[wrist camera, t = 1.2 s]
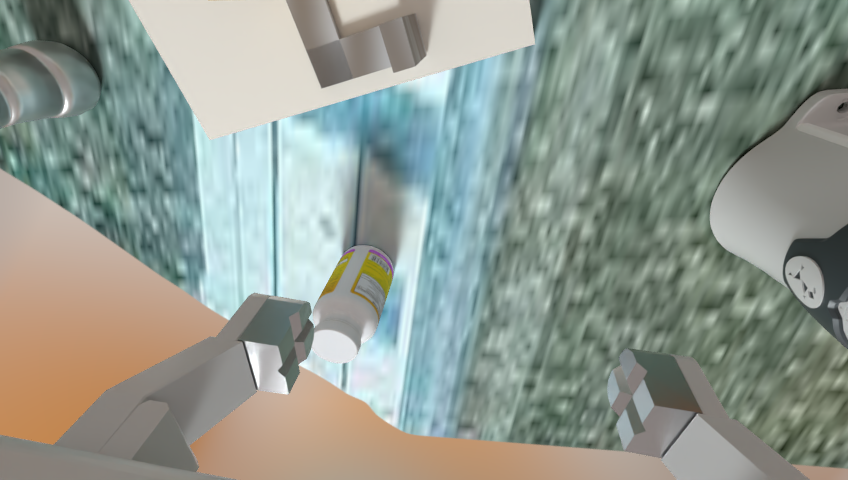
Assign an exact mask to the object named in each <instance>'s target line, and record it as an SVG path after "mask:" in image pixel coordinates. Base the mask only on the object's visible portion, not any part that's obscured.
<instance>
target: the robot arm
mask: <svg viewBox="0 0 848 480" xmlns="http://www.w3.org/2000/svg"><path fill="white" fill-rule="evenodd" d="M842 103H844V105H843V107H842V108H841V109H839V110H837V109H838V107H839V106H840V105H841V104H842ZM710 223H711V228H712V231H713V234H714V236H715V238H716V239H717V241H718V242H719V243H720V244H721V245H722V246H723V247H724V248H725V249H727V250H728V251H729V252H731V253H733V254H735V255H737V256H739V257H741V258H743V259H745V260H746V261H748V262H750V263H752V264H753V265H755V266H757V267H758V268H760V269H761V270H763V271H764V272H766V273H767V274H769V275H770V276H771V277H773V278H774V279H775V280H777V281H778V282H780V283H781V284H783V285H784V286H786V287H787V288H788V289H790V291H791V292H792V293H793V295H794V296H795V297H796V298H797V300H798V301H799V302H800V303H801V304H802V306H803V307H804V308H805V309H806V310H807V311H808V312H809V313H810V314H811V315H812V316H813V317H814V318H815V319H816V320H817V321H818V322H819V323H820V324H821V325H822V326H823V327H824V328H825V329H826V330H827V331H828V332H829V333H830V334H831V335H832V336H834V337H835V338H836V339H837V340H838V341H839V342H840V343H841V344H842V345H843V346H845V347H846V348H847V349H848V89H833V90H824V91H821V92H818V93H816V94H814V95H813V96H811V97H810V98H809V99H808V100H806V101H805V102H804V103H803V104H802V105H801V106H800V108H799V109H798V110H797V111H796V112H795V113H794V114H793V116H792V117H791V118H790V119H789V120H788V122H787V123H786V124H785V125H784V126H783V127H782V128H781V129H780V130H779V131H777V132H776V133H775V134H773V135H772V136H770V137H769V138H767V139H766V140H764V141H763V142H761V143H760V144H759V145H757V146H756V147H754V148H753V149H752V150H750V151H749V152H748V153H747V154H746V155H744V156H743V157H742V158H741V159H740V160H739V161H738V162H737V163H736V164H735V165H734V166H733V167H732V168H731V170H730V171H729V172H728V173H727V175H726V176H725V177H724V179H723V180H722V182H721V183H720V185H719V187H718V189H717V191H716V193H715V195H714V198H713V201H712V204H711V210H710ZM311 313H312V311H311V306H310V303H309V302H306V301H301V300H295V299H289V298H283V297H277V296H270V295H264V294H258V293H253V294H251V295H250V296H248V298H247V299H246V300H245V301H244V303H243V304H242V305H241V306H240V308H239V309H238V310H237V311H236V313H235V314H234V315H233V316H232V318H231V319H230V320H229V322H228V323H227V324H226V326H225V327H224V328H223V329H222V331H221V332H220V333H219V334H218V335H217V337H209V338H207V339H205V340H203V341H201V342H199V343H197V344H195V345H193V346H191V347H189V348H187V349H185V350H184V351H182V352H180V353H178V354H176V355H174V356H172V357H170V358H168V359H166V360H164V361H162V362H160V363H158V364H156V365H154V366H152V367H150V368H149V369H147V370H145V371H143V372H141V373H139V374H137V375H135V376H133V377H131V378H129V379H127V380H125V381H123V382H121V383H119V384H118V385H116V386H114V387H112V388H110V389H108V390H106V391H105V392H104V393H103V394H102V395H101V396H100V397H99V398H98V399H97V400H96V401H95V402H94V403H93V404H92V406H90V408H89V409H88V410H87V411H86V412H85V413H84V414H83V415H82V416H81V417H80V418H79V419H78V420H77V421H76V422H75V423H74V424H73V425H72V426H71V427H70V428H69V429H68V431H66V432H65V433H64V435H63V436H62V437H61V438H60V439H59V440H58V441H57V442H56V443H55V444H54V445H51V444H45V443H40V442H35V441H30V440H25V439H19V438H14V437H9V436H3V435H0V480H236V479H231V478H225V477H220V476H215V475H209V474H204V473H199V472H196V471H197V470H198V468H199V466H198V461H197V459H196V457H195V456H194V453H193V452H192V450H191V448H190V446H189V445H191V444H192V443H193V442H194V441H196V440H197V439H198V438H200V437H201V436H202V435H203V434H205V433H206V432H207V431H208V430H209V429H211V428H212V427H213V426H214V425H216V424H217V423H218V422H220V421H221V420H222V419H223V418H225V417H226V416H227V415H228V414H230V413H231V412H232V411H233V410H235V409H236V408H237V407H238V406H240V405H241V404H242V403H243V402H245V401H246V400H247V399H249V398H250V397H251V396H252V395H254V394H255V393H256V392H257V391H256V390H260V391H268V392H275V393H282V394H289V393H290V391H291V389H292V387H293V385H294V383H295V381H296V379H297V377H298V375H299V373H300V372H299V366H298V364H299V363H301V362H302V361H304V360H305V359H307V357H308V355H309V352H310V350H311V347H312V343H313V340H314V326H313V323H312V322H311V321H310V320H309V319H308V318H309V316H310V315H311ZM619 360H620V363H621V366H619V367H617V368H615V369H613V370H612V372H611V375H610V377H609V380H608V398H609V402H610V405H611V408H612V409H613V410H614V411H615V412H616V413H617V414H618V415H619V416H620V418H619V420H618V422H617V424H616V426H617V429H618V432H619V436H620V439H621V442H622V445H623V449H624V451H627V452H632V453H637V454H643V455H648V456H653V457H658V458H662V459H661V461H662V462H663V463H664V464H665V465H666V467H667V468H668V469H669V470H670V472H671V473H672V474H673V475H674V477H675V478H676V479H677V480H809V479H808V478H807V477H806V476H805V475H803V474H802V473H801V472H800V471H799V470H797V469H796V468H795V467H794V466H792V465H791V464H790V463H789V462H788V461H786V460H785V459H784V458H783V457H781V456H780V455H779V454H778V453H777V452H775V451H774V450H773V449H772V448H770V447H769V446H768V445H767V444H766V443H764V442H763V441H762V440H761V439H759V438H758V437H757V436H756V435H755V434H753V433H752V432H751V431H750V430H748V429H747V428H746V427H745V426H744V425H742V424H741V423H740V422H739V421H737V420H735V419H730V418H729V417H728V415H727V413H726V412H725V410H724V408H723V406H722V405H721V403H720V401H719V399H718V398H717V396H716V394H715V392H714V391H713V389H712V387H711V385H710V384H709V382H708V380H707V378H706V377H705V375H704V373H703V371H702V370H701V368H700V366H699V364H698V363H697V361H696V360H695V359H693V358H692V357H687V356H680V355H672V354H665V353H658V352H651V351H643V350H636V349H629V348H626V349H625V350H624V351H622V353H621V355H620V357H619Z"/></svg>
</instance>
